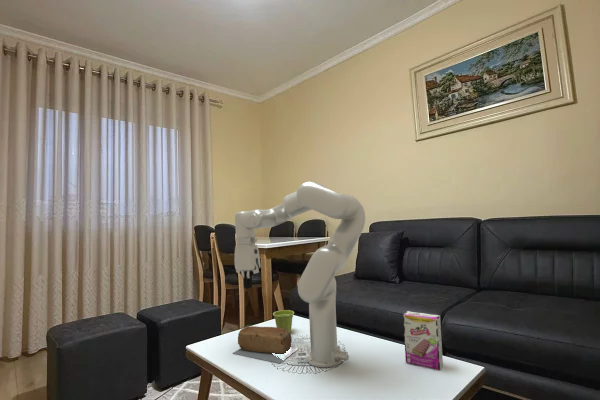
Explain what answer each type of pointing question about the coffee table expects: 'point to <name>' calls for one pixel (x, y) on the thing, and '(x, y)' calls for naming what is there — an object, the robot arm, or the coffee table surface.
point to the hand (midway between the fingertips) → (248, 287)
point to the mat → (259, 355)
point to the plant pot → (284, 319)
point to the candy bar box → (423, 340)
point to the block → (265, 339)
